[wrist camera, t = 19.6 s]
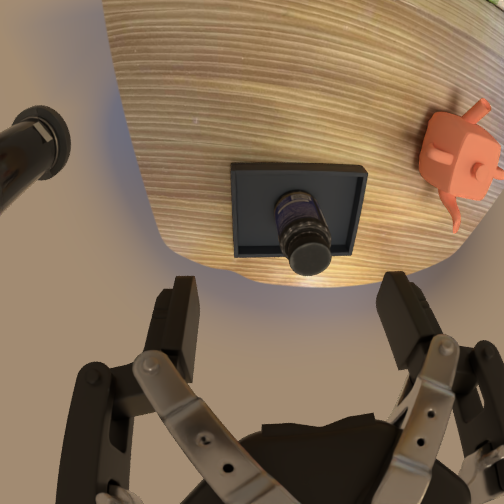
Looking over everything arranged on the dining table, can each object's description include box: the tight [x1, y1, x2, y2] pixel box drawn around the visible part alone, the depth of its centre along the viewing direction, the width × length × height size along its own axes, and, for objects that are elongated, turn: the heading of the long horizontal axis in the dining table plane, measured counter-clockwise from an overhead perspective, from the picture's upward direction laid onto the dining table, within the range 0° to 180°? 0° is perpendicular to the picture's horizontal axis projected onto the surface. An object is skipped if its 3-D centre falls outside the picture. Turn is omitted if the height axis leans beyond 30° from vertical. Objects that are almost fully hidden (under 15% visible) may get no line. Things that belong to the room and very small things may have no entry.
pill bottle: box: [274, 191, 332, 276], centre depth 37 cm, size 6×6×11 cm
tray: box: [231, 163, 368, 258], centre depth 41 cm, size 17×13×3 cm
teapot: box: [419, 98, 504, 233], centre depth 32 cm, size 14×12×10 cm
